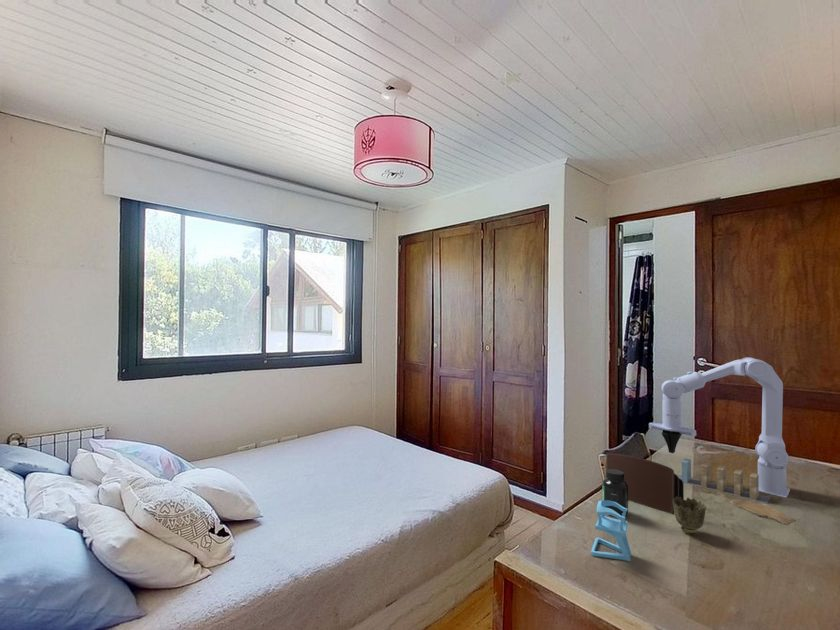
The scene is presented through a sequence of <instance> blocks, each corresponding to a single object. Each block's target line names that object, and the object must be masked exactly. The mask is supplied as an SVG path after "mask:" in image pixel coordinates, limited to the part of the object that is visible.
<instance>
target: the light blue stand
mask: <svg viewBox="0 0 840 630" xmlns="http://www.w3.org/2000/svg"><path fill="white" fill-rule="evenodd" d="M605 506H615V507H617V508H619V509H620V510H621V511H623V513H622V516H621V515H619V514H618V513H617V512H615V511H614V510H612V509H610V508H606V507H605ZM626 511H627V508H624V507H622V506H621V505H619V504H618V503H616V502H614V501H609V500H603V499H602V500H598V501H597V506H596V514H597V522H596V523H595V527H594V528H595V529H594V530H598V531H601V532H604V533H606V534H608V535H610V536H612V538H614V540H615V542H616V543H617V544H618V545H617V544H614V543H613V542H610V541H607V540H605V539H602V538H601V537H595V539H594V542H593V545H592V547H591V549H590V550H591V551H590V553H591V556H593V557H598V558H606V559H613V560H621V561H626V562H630V561H631V556H632V551H631V548H630V544H629V541H628V536H627V534H626V533H627V529H628V526H629V525H628V524H629V523H628V521H627V520H626V517H625V514H626ZM606 515H607V516H606ZM610 515H612V516H611V517H609V516H610ZM613 516H614V518H613ZM616 518H617V519H616ZM598 543H599V544H602V545H604V546H606V547H608V548H610V549H612V550H614V551H616V552H607V551H598V550H597V547H598ZM596 550H597V551H596ZM617 552H619V553H617Z"/></svg>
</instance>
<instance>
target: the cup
mask: <svg viewBox="0 0 840 630" xmlns="http://www.w3.org/2000/svg"><path fill="white" fill-rule="evenodd" d="M706 506H707V505H706V504H705V503H702V502H701V501H698V500H696V499H695V498H690V497H686V499H684V500H682V499H681V497H679V498H678V497H677V496H676V497H675V499H674V498H673V507H674V517H675V520H676V522H677V523H678V524H679V525H680V528H681V531H682V532H683V533H684V534H687V535H690V536H695V535H697V533H698V529H701V528H702V527H703V525H704V522H705V519H706V518H705V517H706V510H707V507H706Z"/></svg>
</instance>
